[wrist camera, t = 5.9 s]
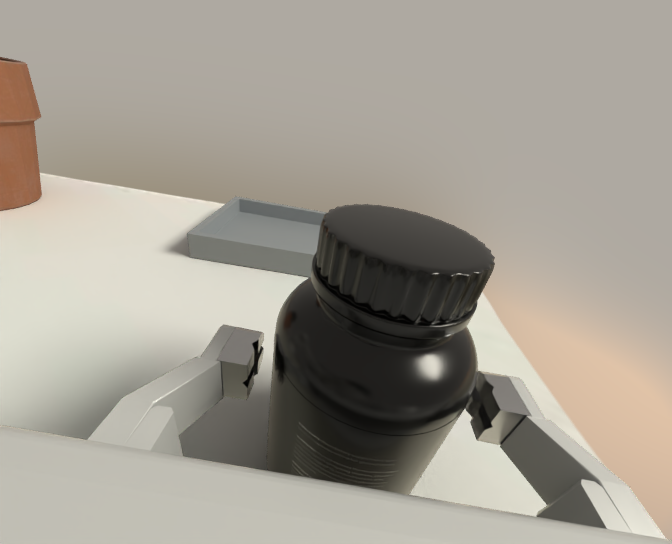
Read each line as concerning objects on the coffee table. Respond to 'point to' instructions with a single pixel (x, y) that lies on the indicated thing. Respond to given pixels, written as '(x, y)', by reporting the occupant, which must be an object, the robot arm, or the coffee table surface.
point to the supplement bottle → (375, 348)
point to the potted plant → (18, 136)
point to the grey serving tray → (259, 236)
